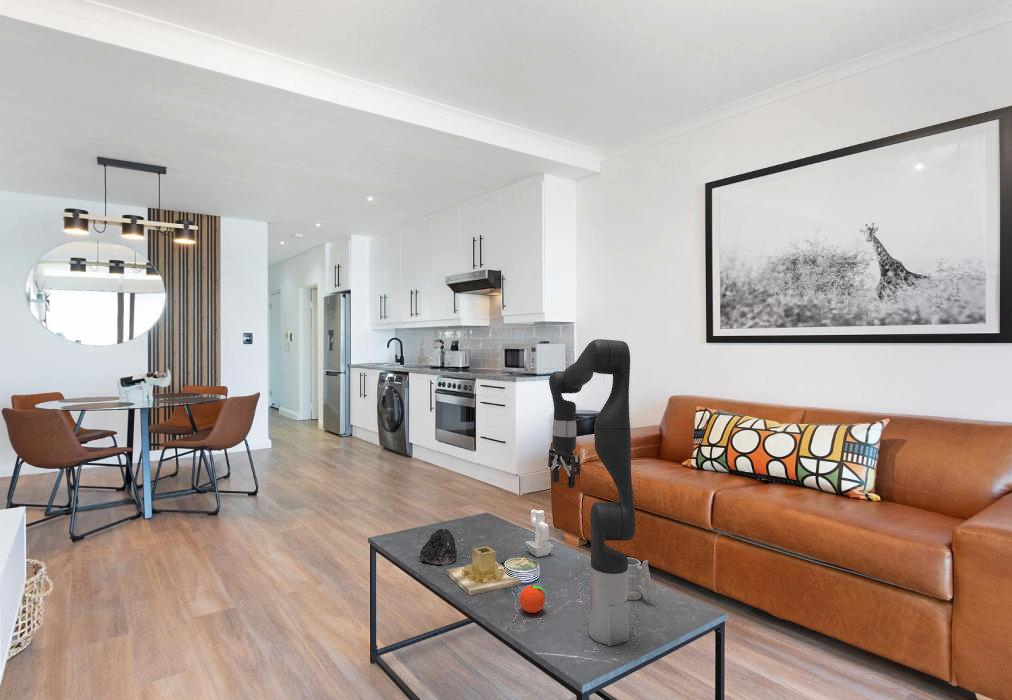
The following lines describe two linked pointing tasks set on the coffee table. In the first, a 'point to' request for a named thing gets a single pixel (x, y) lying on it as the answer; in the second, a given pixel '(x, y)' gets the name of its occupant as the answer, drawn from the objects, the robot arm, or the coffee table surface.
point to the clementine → (532, 598)
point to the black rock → (439, 548)
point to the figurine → (539, 535)
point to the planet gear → (483, 566)
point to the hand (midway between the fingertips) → (563, 484)
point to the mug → (638, 579)
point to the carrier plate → (479, 587)
